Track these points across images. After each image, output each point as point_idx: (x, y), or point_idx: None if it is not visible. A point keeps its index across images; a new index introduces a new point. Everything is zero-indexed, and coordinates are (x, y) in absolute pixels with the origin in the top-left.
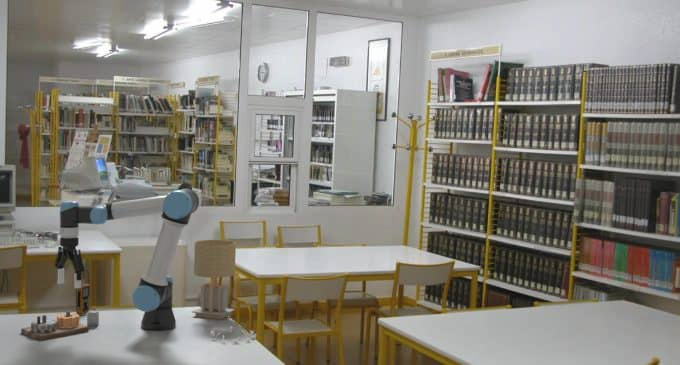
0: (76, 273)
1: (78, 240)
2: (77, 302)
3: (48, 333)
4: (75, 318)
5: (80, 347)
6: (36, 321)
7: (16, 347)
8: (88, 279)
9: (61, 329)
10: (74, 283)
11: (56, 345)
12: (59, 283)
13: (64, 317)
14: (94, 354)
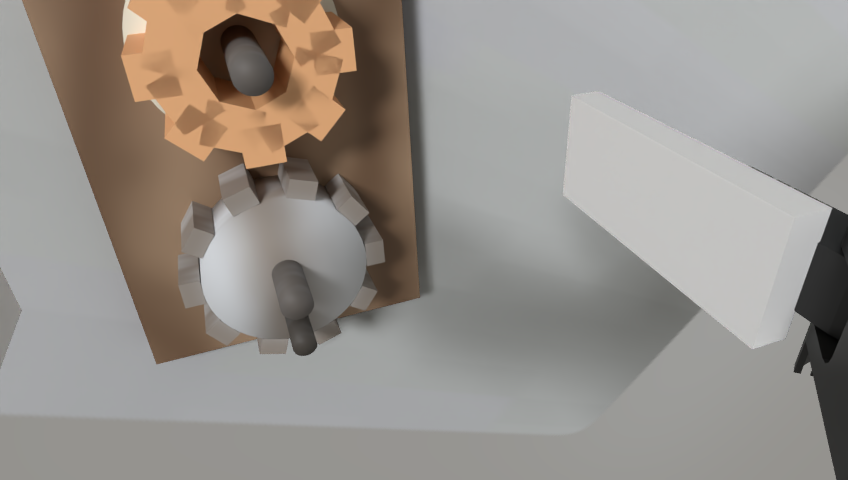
0: (783, 309)
1: None
2: None
3: (400, 246)
4: (348, 27)
5: None
6: (215, 313)
7: (455, 392)
8: None
9: (348, 142)
10: (609, 230)
11: (554, 233)
12: (14, 300)
13: (292, 119)
14: (799, 131)
